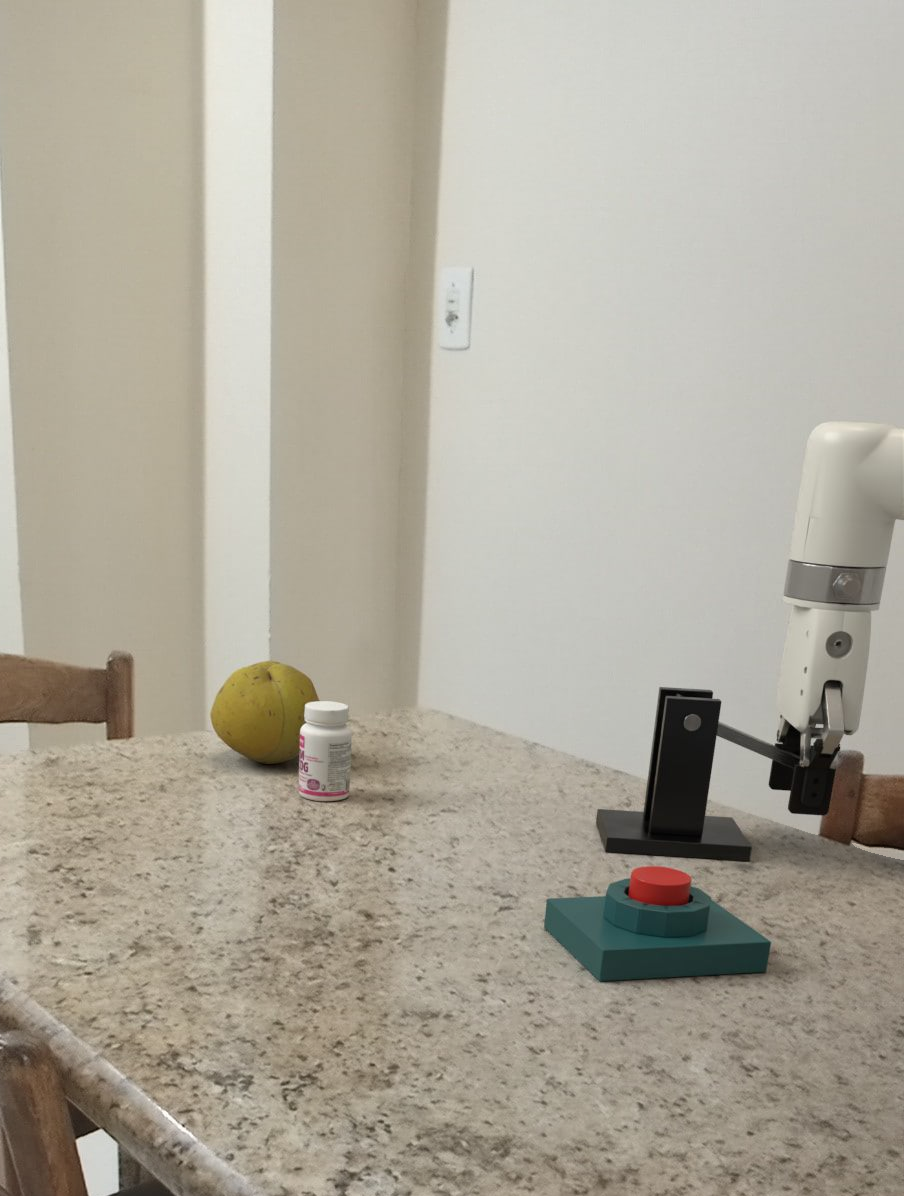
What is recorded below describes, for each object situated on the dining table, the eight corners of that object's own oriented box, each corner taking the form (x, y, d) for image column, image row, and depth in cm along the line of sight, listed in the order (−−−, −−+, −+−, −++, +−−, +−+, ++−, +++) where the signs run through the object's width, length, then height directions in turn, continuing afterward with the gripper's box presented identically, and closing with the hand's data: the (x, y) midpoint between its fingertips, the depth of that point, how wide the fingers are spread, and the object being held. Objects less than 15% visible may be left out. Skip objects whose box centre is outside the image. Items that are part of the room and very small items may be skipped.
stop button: (672, 889, 95) (675, 864, 95) (698, 908, 92) (702, 883, 91) (618, 891, 94) (621, 866, 94) (643, 910, 91) (646, 885, 90)
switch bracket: (730, 831, 123) (752, 688, 118) (749, 861, 115) (773, 708, 110) (595, 822, 124) (612, 679, 119) (605, 852, 115) (623, 699, 110)
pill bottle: (287, 793, 128) (289, 702, 125) (326, 786, 131) (329, 698, 128) (320, 805, 125) (323, 712, 121) (359, 797, 128) (363, 707, 124)
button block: (697, 920, 100) (704, 868, 99) (766, 972, 91) (776, 915, 90) (543, 927, 97) (548, 873, 96) (599, 981, 88) (606, 923, 87)
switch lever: (798, 774, 119) (812, 749, 118) (812, 789, 114) (826, 763, 113) (661, 715, 118) (674, 689, 117) (669, 728, 113) (682, 701, 112)
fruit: (344, 761, 140) (348, 662, 137) (275, 782, 131) (277, 677, 128) (258, 743, 146) (260, 648, 142) (186, 762, 137) (186, 661, 133)
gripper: (913, 603, 102) (869, 833, 109) (852, 577, 118) (817, 779, 125) (811, 597, 103) (773, 827, 109) (764, 572, 119) (733, 774, 125)
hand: (797, 799), depth 117 cm, fingers open, 7 cm apart
